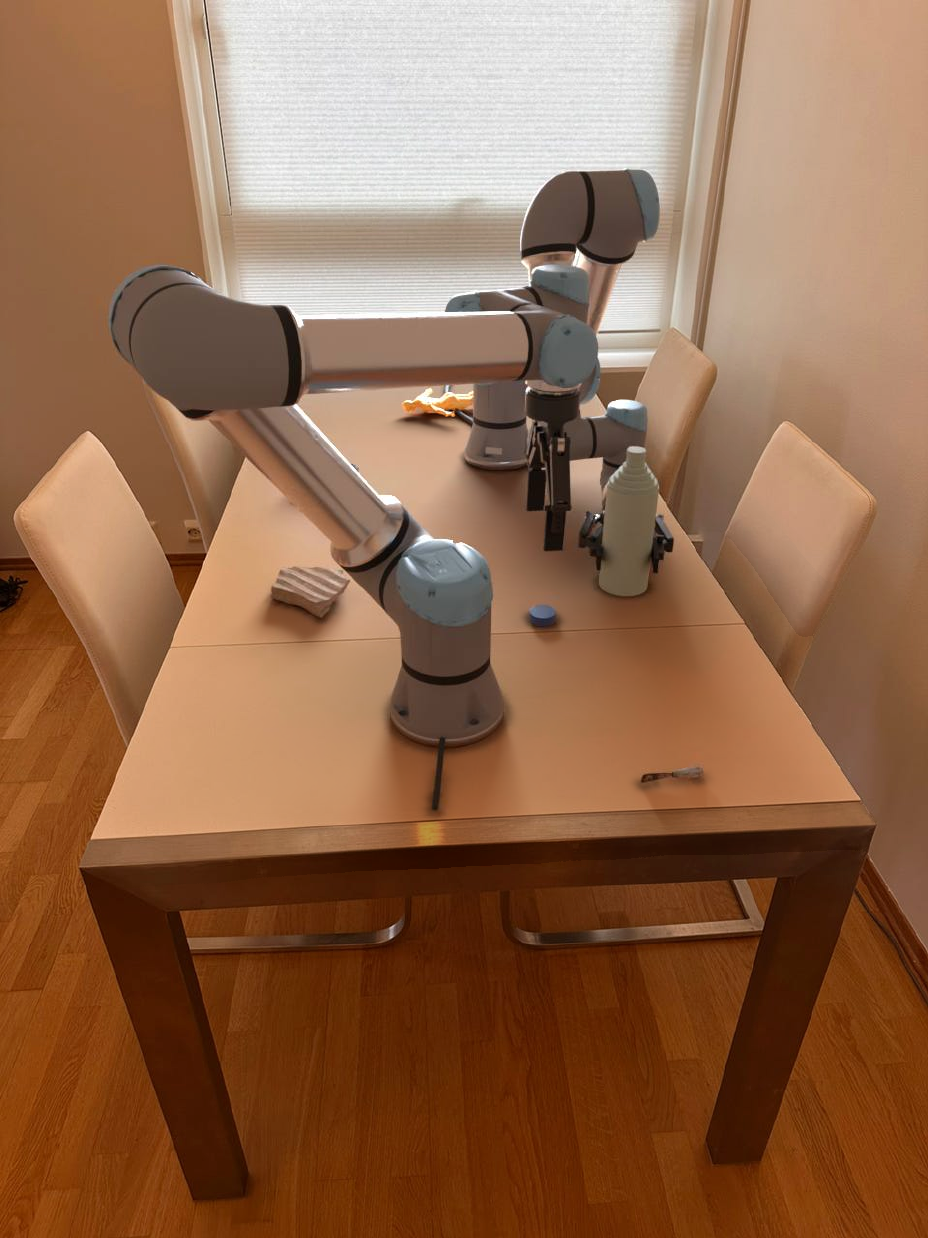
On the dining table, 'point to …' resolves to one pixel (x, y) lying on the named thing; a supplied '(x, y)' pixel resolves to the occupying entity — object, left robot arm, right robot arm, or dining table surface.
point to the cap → (542, 615)
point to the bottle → (629, 526)
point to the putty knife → (674, 774)
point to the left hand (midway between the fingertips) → (543, 529)
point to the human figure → (439, 403)
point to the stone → (310, 587)
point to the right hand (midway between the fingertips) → (627, 564)
